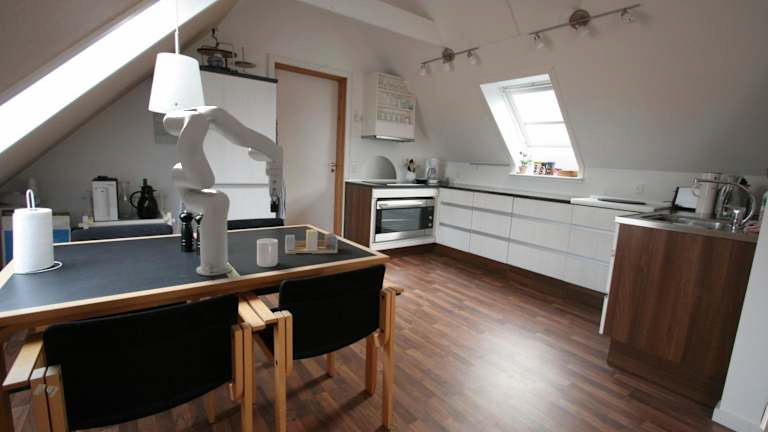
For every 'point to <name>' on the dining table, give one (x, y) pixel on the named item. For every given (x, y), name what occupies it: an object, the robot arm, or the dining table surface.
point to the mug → (267, 252)
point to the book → (311, 239)
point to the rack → (322, 246)
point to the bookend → (290, 242)
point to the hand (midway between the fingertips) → (274, 210)
